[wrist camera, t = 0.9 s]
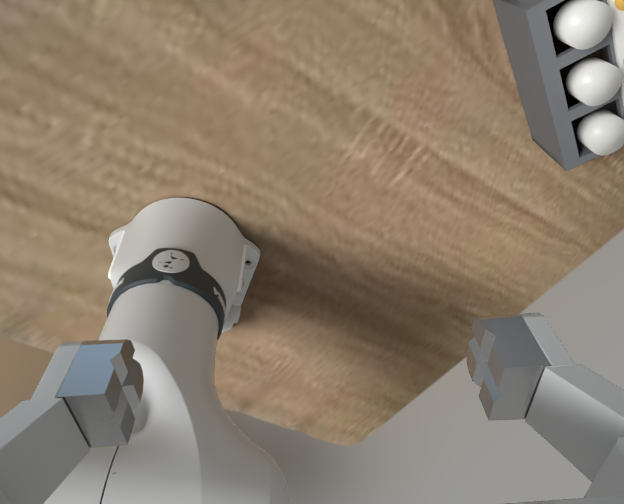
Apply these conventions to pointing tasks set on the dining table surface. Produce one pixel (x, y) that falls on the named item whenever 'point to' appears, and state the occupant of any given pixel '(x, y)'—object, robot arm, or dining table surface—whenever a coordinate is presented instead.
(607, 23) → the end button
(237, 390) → the dining table surface
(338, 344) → the dining table surface
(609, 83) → the middle button
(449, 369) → the dining table surface
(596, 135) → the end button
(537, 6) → the button console
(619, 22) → the pattern card
